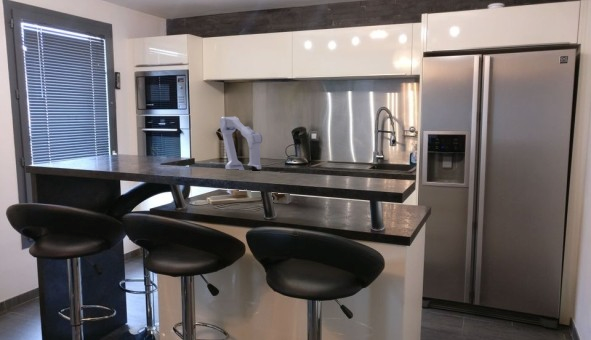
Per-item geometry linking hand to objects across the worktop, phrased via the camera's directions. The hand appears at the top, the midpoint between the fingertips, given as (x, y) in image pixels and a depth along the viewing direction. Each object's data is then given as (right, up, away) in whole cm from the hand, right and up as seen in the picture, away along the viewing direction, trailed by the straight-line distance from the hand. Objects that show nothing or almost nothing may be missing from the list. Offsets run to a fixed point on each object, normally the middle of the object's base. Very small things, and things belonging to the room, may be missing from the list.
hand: (255, 180), depth 245 cm
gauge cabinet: (0, -8, +1) cm, 8 cm away
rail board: (-10, -10, -3) cm, 14 cm away
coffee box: (+15, -11, -7) cm, 20 cm away
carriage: (-8, -9, -3) cm, 12 cm away
